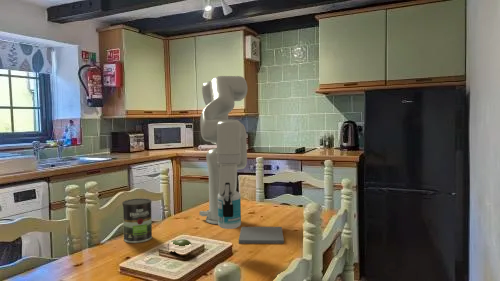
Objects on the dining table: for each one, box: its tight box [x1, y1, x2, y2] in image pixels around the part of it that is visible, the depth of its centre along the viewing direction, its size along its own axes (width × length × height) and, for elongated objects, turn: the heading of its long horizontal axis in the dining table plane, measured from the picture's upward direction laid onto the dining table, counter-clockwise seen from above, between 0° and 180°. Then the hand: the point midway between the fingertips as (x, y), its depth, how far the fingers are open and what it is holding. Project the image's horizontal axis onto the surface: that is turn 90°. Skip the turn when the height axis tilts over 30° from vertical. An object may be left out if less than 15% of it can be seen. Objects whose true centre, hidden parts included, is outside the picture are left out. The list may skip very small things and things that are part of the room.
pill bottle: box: [217, 190, 242, 230], centre depth 120 cm, size 8×7×14 cm
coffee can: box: [122, 198, 153, 244], centre depth 138 cm, size 10×10×14 cm
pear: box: [170, 238, 192, 246], centre depth 122 cm, size 6×5×10 cm
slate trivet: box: [238, 226, 285, 245], centre depth 139 cm, size 16×16×1 cm
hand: (229, 212), depth 120 cm, fingers closed on pill bottle, 7 cm apart
